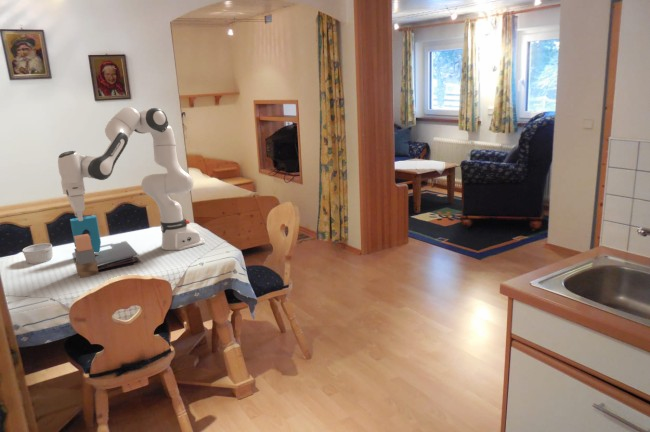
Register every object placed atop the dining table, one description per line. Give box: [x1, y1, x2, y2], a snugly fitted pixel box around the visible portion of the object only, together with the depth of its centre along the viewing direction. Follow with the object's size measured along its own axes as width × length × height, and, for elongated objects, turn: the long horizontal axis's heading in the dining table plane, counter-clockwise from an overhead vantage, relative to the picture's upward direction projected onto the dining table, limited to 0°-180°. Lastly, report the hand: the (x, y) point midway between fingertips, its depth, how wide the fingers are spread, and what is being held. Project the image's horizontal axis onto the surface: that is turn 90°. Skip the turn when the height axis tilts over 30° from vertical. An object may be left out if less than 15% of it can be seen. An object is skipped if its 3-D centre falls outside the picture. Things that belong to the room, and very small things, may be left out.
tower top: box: [74, 248, 97, 265], centre depth 235 cm, size 7×7×6 cm
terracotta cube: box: [73, 233, 92, 252], centre depth 233 cm, size 6×6×6 cm
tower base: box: [75, 260, 99, 278], centre depth 237 cm, size 8×8×6 cm
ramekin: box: [22, 242, 53, 265], centre depth 258 cm, size 13×13×7 cm
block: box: [69, 214, 102, 252], centre depth 260 cm, size 12×5×20 cm, turn 120°
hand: (79, 218), depth 231 cm, fingers open, 8 cm apart
